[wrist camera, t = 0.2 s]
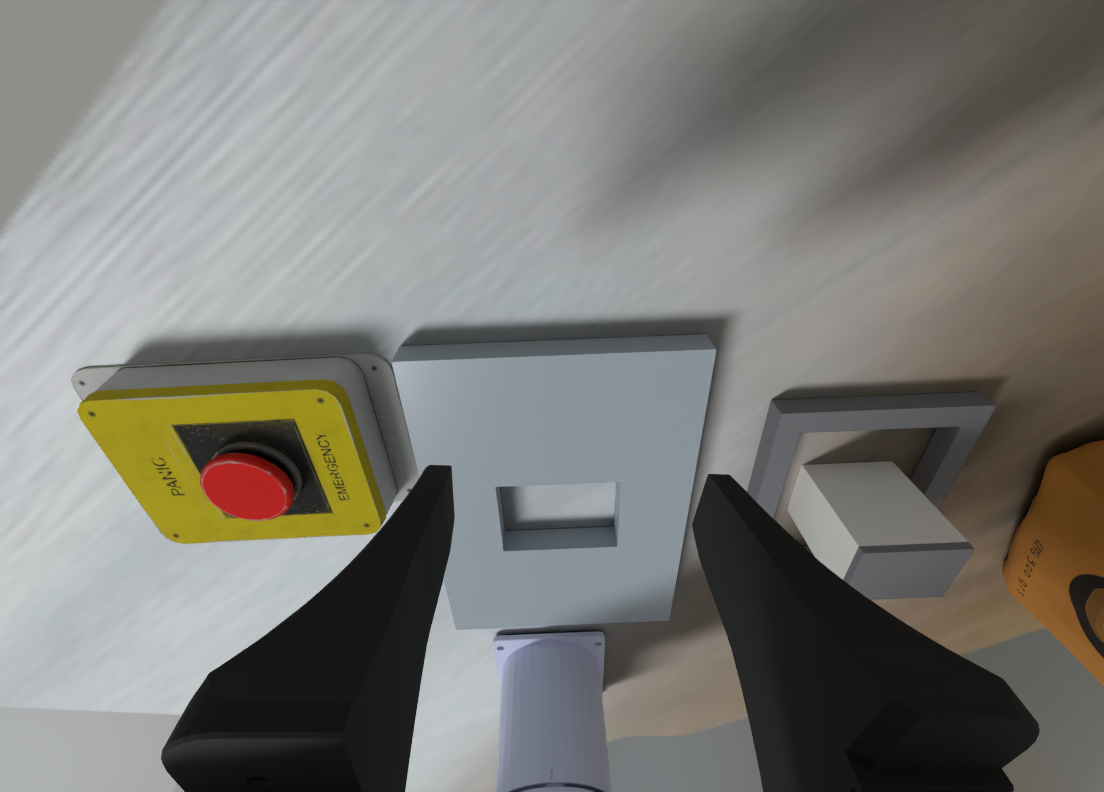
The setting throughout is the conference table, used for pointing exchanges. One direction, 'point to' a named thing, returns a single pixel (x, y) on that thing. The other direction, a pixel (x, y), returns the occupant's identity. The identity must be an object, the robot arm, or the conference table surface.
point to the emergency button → (254, 444)
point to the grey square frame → (940, 462)
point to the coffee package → (1065, 554)
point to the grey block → (877, 530)
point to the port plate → (561, 469)
